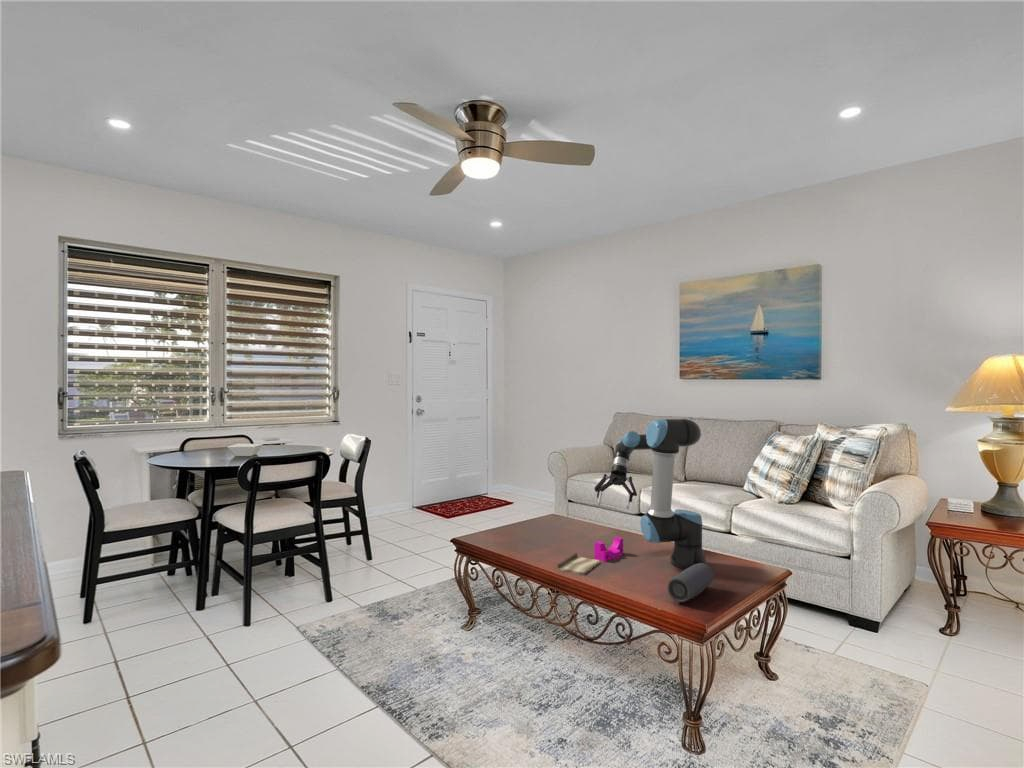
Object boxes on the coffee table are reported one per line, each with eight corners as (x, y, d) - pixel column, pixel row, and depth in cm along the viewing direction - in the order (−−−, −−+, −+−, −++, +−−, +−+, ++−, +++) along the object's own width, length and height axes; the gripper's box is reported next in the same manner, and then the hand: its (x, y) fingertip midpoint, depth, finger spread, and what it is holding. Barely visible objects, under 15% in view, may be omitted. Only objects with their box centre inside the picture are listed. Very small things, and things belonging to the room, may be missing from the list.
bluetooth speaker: (691, 584, 214) (691, 559, 214) (714, 590, 208) (714, 564, 208) (665, 601, 197) (665, 574, 197) (690, 608, 190) (690, 580, 190)
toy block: (604, 562, 240) (604, 545, 240) (594, 558, 245) (594, 542, 245) (627, 556, 249) (627, 539, 249) (617, 552, 254) (617, 536, 254)
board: (600, 562, 239) (600, 557, 239) (583, 575, 224) (583, 569, 224) (575, 558, 245) (575, 552, 245) (557, 569, 230) (557, 564, 230)
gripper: (646, 474, 266) (640, 513, 253) (596, 470, 276) (588, 506, 263) (644, 466, 261) (638, 504, 248) (593, 461, 270) (585, 498, 257)
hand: (612, 505), depth 255 cm, fingers open, 13 cm apart
